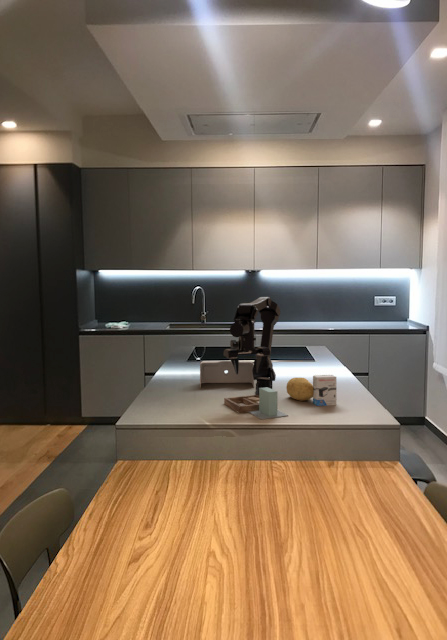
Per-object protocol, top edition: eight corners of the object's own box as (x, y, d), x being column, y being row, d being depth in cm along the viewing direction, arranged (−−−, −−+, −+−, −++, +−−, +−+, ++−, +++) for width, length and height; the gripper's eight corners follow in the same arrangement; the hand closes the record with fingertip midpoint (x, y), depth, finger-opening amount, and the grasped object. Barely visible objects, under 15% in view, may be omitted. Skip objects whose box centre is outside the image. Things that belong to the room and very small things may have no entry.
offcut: (252, 400, 210) (252, 396, 210) (261, 402, 206) (261, 398, 206) (247, 401, 208) (247, 398, 208) (256, 403, 204) (255, 400, 204)
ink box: (316, 406, 203) (316, 377, 202) (312, 403, 208) (312, 375, 207) (337, 405, 204) (337, 376, 203) (332, 403, 209) (332, 374, 208)
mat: (273, 409, 199) (273, 408, 199) (288, 416, 189) (288, 415, 189) (248, 412, 195) (248, 411, 195) (261, 419, 185) (261, 418, 185)
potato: (307, 396, 220) (307, 375, 220) (316, 403, 206) (316, 380, 205) (285, 397, 219) (284, 375, 219) (292, 404, 205) (292, 381, 205)
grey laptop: (251, 383, 250) (251, 358, 249) (254, 390, 234) (254, 363, 233) (200, 383, 249) (200, 358, 248) (200, 391, 233) (199, 364, 232)
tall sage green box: (267, 410, 196) (267, 387, 195) (277, 415, 189) (277, 391, 188) (259, 411, 195) (259, 388, 194) (269, 416, 187) (269, 392, 187)
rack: (257, 400, 214) (257, 394, 213) (274, 409, 199) (274, 402, 199) (224, 404, 208) (224, 398, 208) (239, 413, 194) (239, 406, 193)
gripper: (259, 332, 215) (259, 368, 216) (218, 334, 208) (218, 371, 209) (271, 334, 205) (271, 372, 206) (228, 336, 197) (229, 376, 199)
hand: (247, 373), depth 205 cm, fingers open, 9 cm apart
